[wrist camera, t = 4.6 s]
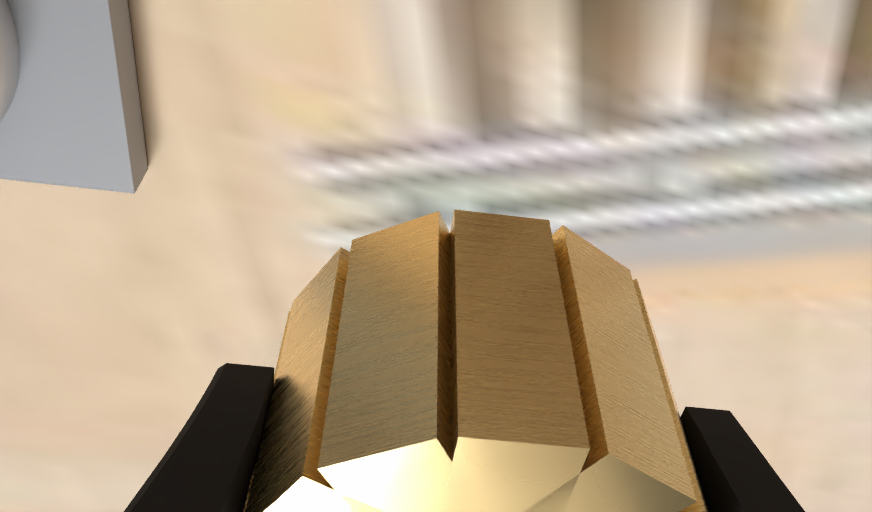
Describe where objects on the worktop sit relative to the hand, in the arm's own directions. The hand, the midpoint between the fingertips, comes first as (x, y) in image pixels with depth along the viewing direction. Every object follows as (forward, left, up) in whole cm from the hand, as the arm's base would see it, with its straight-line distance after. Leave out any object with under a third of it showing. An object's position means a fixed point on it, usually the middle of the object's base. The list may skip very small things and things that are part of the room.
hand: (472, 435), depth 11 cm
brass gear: (0, 0, -1) cm, 1 cm away
